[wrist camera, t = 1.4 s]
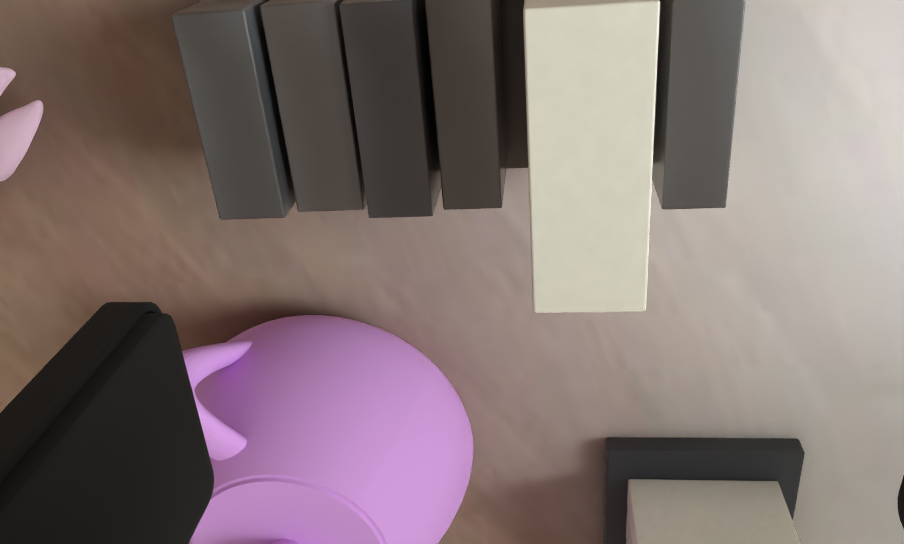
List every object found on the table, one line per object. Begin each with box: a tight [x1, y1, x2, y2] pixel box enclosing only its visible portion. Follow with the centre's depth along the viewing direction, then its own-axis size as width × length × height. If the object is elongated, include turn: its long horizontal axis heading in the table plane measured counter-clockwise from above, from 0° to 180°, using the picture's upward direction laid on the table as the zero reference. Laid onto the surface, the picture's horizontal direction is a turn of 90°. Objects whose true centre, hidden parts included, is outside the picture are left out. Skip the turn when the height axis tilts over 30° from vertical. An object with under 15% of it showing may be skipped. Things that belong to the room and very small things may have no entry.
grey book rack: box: [171, 0, 745, 220], centre depth 27 cm, size 18×8×6 cm, turn 95°
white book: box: [523, 0, 660, 313], centre depth 24 cm, size 3×8×11 cm, turn 5°
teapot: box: [182, 315, 474, 544], centre depth 35 cm, size 14×20×11 cm
